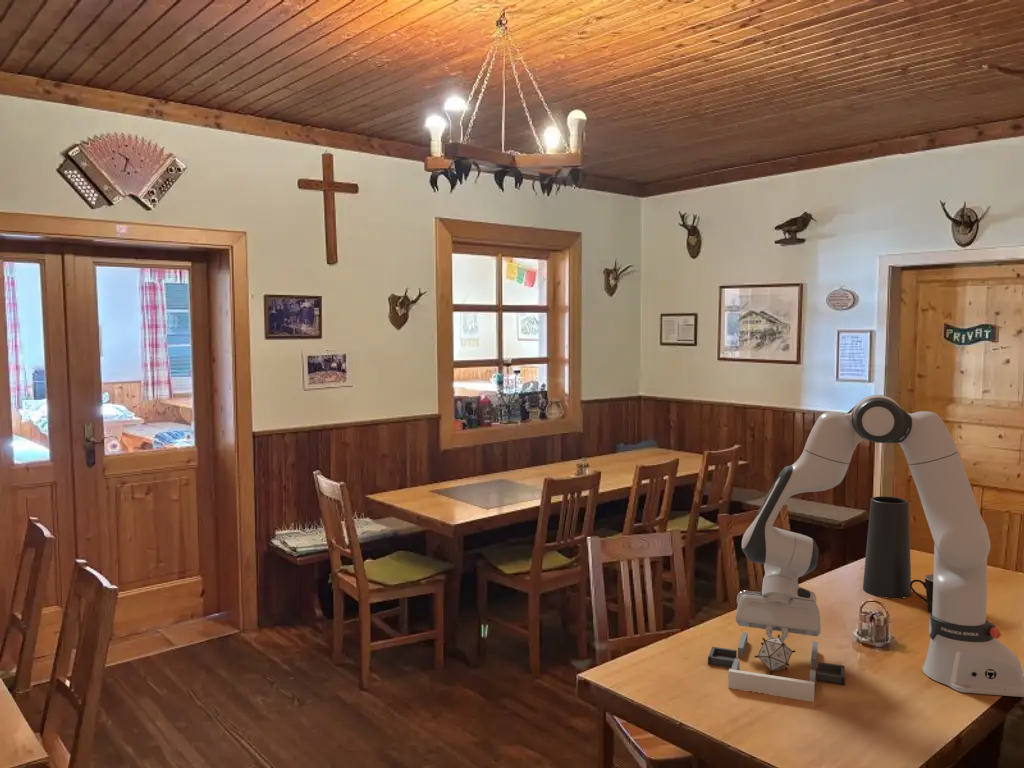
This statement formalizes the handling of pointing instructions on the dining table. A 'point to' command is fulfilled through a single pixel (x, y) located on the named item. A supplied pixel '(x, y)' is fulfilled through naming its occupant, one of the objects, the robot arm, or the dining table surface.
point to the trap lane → (774, 683)
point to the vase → (888, 549)
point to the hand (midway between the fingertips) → (775, 646)
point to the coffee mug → (929, 590)
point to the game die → (775, 654)
